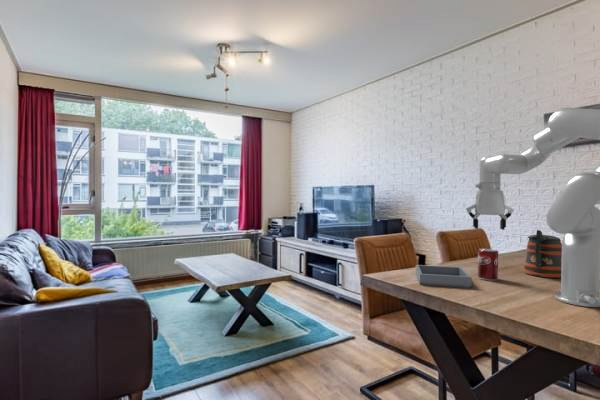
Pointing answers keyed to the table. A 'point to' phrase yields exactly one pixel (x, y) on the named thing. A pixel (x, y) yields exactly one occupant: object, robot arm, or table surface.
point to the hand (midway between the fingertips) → (489, 228)
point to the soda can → (488, 264)
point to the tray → (443, 276)
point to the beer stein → (543, 256)
